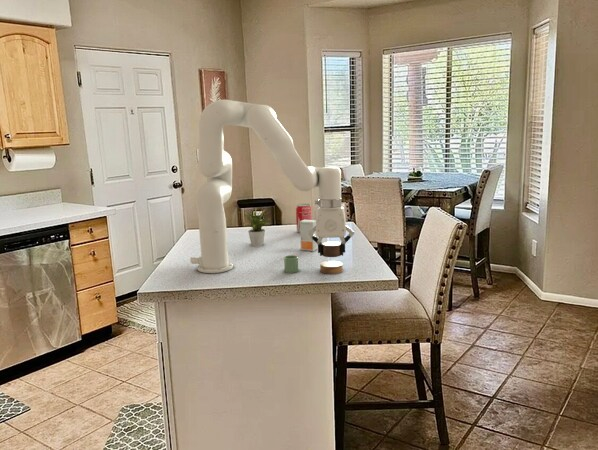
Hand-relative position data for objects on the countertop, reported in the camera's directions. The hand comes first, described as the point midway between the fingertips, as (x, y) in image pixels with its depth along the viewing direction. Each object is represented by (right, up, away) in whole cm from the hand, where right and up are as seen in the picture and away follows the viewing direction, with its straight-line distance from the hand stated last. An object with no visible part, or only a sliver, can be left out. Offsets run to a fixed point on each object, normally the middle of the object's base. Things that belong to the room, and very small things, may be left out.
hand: (331, 254), depth 176 cm
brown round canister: (0, 0, 0) cm, 0 cm away
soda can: (-9, +7, +65) cm, 66 cm away
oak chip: (0, -6, +1) cm, 6 cm away
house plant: (-30, +1, +42) cm, 51 cm away
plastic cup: (-14, -6, +3) cm, 15 cm away
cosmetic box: (-7, 0, +32) cm, 32 cm away
